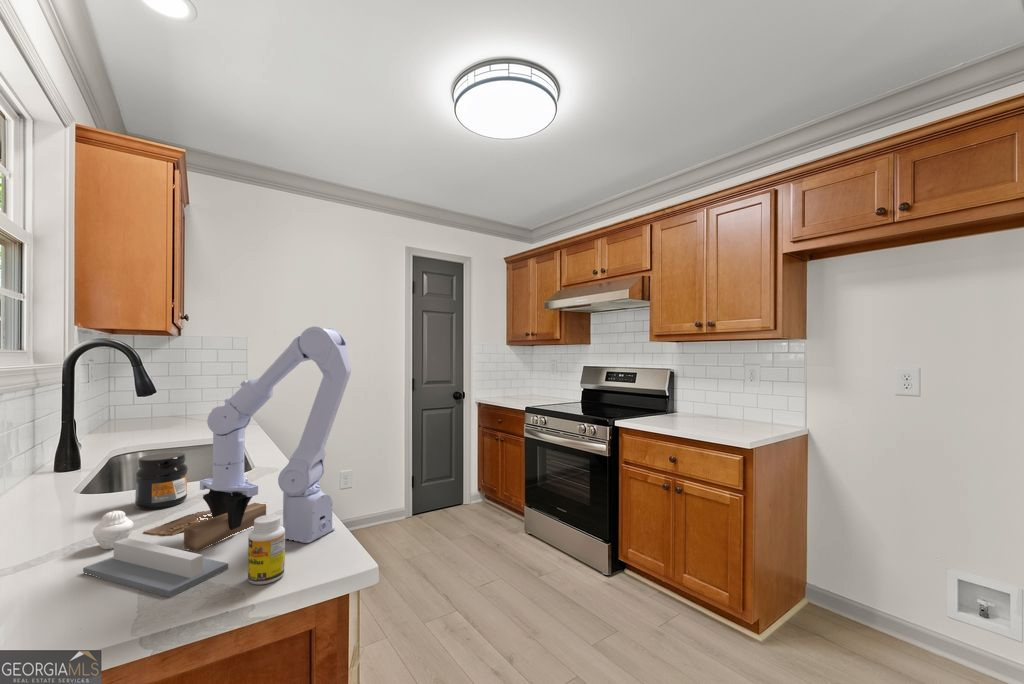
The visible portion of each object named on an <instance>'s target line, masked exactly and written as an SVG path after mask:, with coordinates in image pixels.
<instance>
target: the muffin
mask: <svg viewBox="0 0 1024 684" xmlns="http://www.w3.org/2000/svg"><path fill="white" fill-rule="evenodd" d="M133 528H134V521H133V520H131V519H129V517H127V516H126V512H125V511H122V510H112V511H108V512H106V513H105V514H103V516H102V518H101V520H100V521H99V522H98V524H97V525H96V526H95V527H94V528H93V530H92V535H93V537H94V539H95V541H96V542H97V543H98V544H99V546H100V547H101V548H102V549H103V550H114V542H116V541H119V540H122V539H125V538H129V536H130V535H131V533H132V529H133Z"/></svg>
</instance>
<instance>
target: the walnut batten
mask: <svg viewBox="0 0 1024 684" xmlns="http://www.w3.org/2000/svg"><path fill="white" fill-rule="evenodd" d="M264 515H267V506H266V504H260V503H258V502H253V503H250V504H248V505H247V507H246V509H245V512H244V515H243V519H242V522H241V526H240V527H238V528H235V529H233V530H231V529H229V525H228V513H225V514H222V515H220V516H217V517H214V518H211V519H208V520H206V521H203V522H200V523H197V524H195V525H192V526H189V527H186V528H184V531H183V550H187V549H189V550H188V551H191V550H192V552H196V551H197V552H199V551H202V550H204V549H206V548H208V547H207V546H209V545H211V544H213V545H215V544H214V543H216V542H218V541H220V540H222V539H224V538H226V537H228V536H230V535H232V534H235V533H237V532H240V531H242V530H244V529H247V528H249V527H251V526H254V520H255V519H256V518H258V517H260V516H264ZM220 542H221V541H220ZM218 543H219V542H218ZM216 544H217V543H216ZM211 546H212V545H211ZM205 547H206V548H205ZM209 547H210V546H209ZM203 548H204V549H203Z"/></svg>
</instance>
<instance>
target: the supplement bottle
mask: <svg viewBox="0 0 1024 684" xmlns="http://www.w3.org/2000/svg"><path fill="white" fill-rule="evenodd" d="M247 541H248V551H247V552H248V553H247V554H248V555H247V580H248V582H249V583H250V584H252V585H259V586H260V585H267V584H271V583H275V582H276V581H278V580H279V579H281V578H282V577H283V575H284V574H285V565H286V564H285V563H286V561H285V558H286V557H285V555H286V554H285V553H286V552H285V551H286V539H285V528H284V527H283V525H281V517H280V515H279V514H266V515H264V516H260V517H258V518H256V519H255V520H254V528H252V530H251V531H250V532H249V534H248V539H247Z"/></svg>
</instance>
